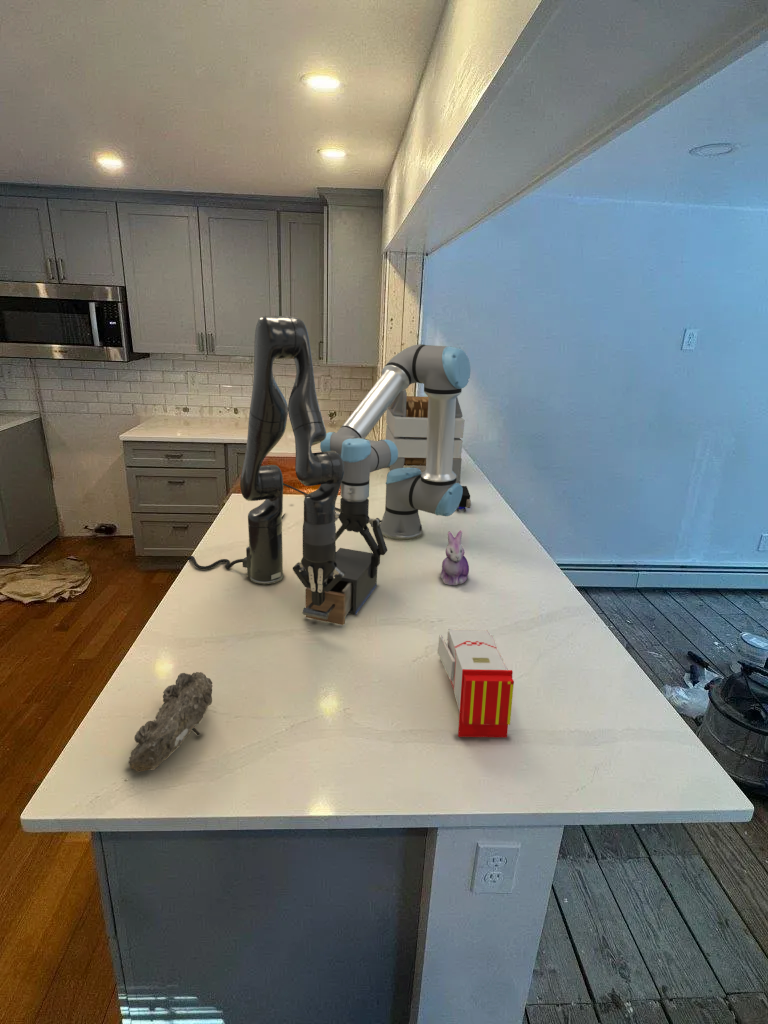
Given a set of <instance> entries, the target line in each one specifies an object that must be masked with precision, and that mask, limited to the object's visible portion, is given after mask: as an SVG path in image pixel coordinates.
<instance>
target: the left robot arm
mask: <svg viewBox="0 0 768 1024" xmlns="http://www.w3.org/2000/svg"><path fill="white" fill-rule="evenodd" d="M255 325H256V326H255V330H254V347H253V349H254V350H253V352H254V353H253V380H252V392H251V399H250V406H249V413H248V423H247V425H248V426H247V438H246V439H247V440H246V446H245V447H246V448H245V453H244V456H243V461H242V462H243V463H242V467H241V471H240V472H241V473H240V483H239V487H240V492H241V495H242V497H243V499H245V500H246V501H248V502H258V501H263V502H262V503H261V504H259V505H258V506H256V507H254V508H252V509H251V510H250V511H249V512H248V514H247V527H248V545H247V547H246V548H245V553H246V556H245V557H244V558H237V559H235V560H232V561H230V560H229V559H227V558H221V559H217V560H216V561H214V562H213V563H211V564H209V565H201V564H198V561H197V560H196V558H195V556H193V555H188V557H187V558H186V560H187V561H191V562H192V564H193V566H194V567H195V568H196V569H199V570H202V571H203V570H204V571H205V570H210V569H212V568H214V567H216V566H217V565H219V564H223V563H225V568H226V569H230V568H231V567H233V566H234V565H237V564H240V563H242V568H244V569H246V575H247V576H246V577H247V579H248V580H250V581H251V582H253V583H255V584H259V585H272V584H277V583H278V582H280V581H282V580H283V578H284V568H283V567H284V566H283V565H284V563H283V562H284V560H283V558H284V557H283V555H284V553H283V519H282V516H283V514H284V513H283V511H284V510H283V509H284V485H283V483H284V476H283V472H282V470H281V468H280V467H279V466H278V465H277V464H267V465H262V464H263V462H264V460H265V459H266V457H267V456H268V454H270V452H271V451H272V450H273V449H274V447H276V446H277V444H279V442H280V441H281V439H283V436H284V434H285V432H286V429H287V428H286V427H287V421H288V418H289V422H290V425H291V429H292V433H293V436H294V445H295V461H294V462H295V465H294V467H295V469H294V470H295V475H296V478H297V479H298V481H299V482H300V483H301V484H302V485H304V486H306V487H312V486H313V487H314V486H319V487H318V488H317V489H315V490H313V491H312V492H309V493H307V494H308V495H304V498H303V523H302V558H301V559H300V562H297V563H296V564H295V565H294V566H292V571H293V572H294V574H295V575H296V576H297V578H298V579H299V581H300V583H301V584H302V585H303V587H304V588H305V589H306V588H310V589H311V591H312V602H314V605H317V606H320V605H321V604H322V603H323V602H324V601H325V591H326V592H329V591H330V590H331V589H332V588H333V587H334V586H335V585H336V584H337V583H338V582H339V581H340V580H341V579H342V578H343V576H344V575H345V572H344V571H340V570H339V569H338V568H337V564H336V562H335V546H336V541H337V540H336V532H337V527H336V526H337V525H336V521H335V512H336V509H335V507H336V502H337V499H338V495H339V492H340V490H341V482H342V479H343V475H344V463H343V460H342V458H341V456H340V455H339V454H338V453H337V452H335V451H325V452H321V451H318V452H313V451H312V446H315V445H318V444H320V443H321V442H322V441H323V440H324V439H325V438H326V433H327V429H326V425H325V422H324V419H323V416H322V415H323V414H322V411H321V408H320V405H319V399H318V396H317V395H318V394H317V390H316V382H315V374H314V365H313V357H312V349H311V344H310V343H311V342H310V337H309V333H308V329H307V326H306V324H305V322H304V321H303V319H302V318H300V317H298V316H295V315H264V316H261V317H260V318H259V319H258V320H257V322H256V324H255ZM285 359H286V360H287V359H293V361H294V365H295V370H296V371H295V380H294V382H293V386H292V389H291V392H290V395H289V398H288V401H287V399H286V398H285V395H284V394H283V392H282V391H281V388H280V387H279V385H278V383H277V381H276V379H275V376H274V373H273V372H274V371H273V367H274V366H273V365H274V361H275V360H285ZM332 572H334V574H333V578H334V579H333V580H332V581H331V582H330V583H329V584H327V579H328V576H329V575H330V574H331V573H332Z"/></svg>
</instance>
